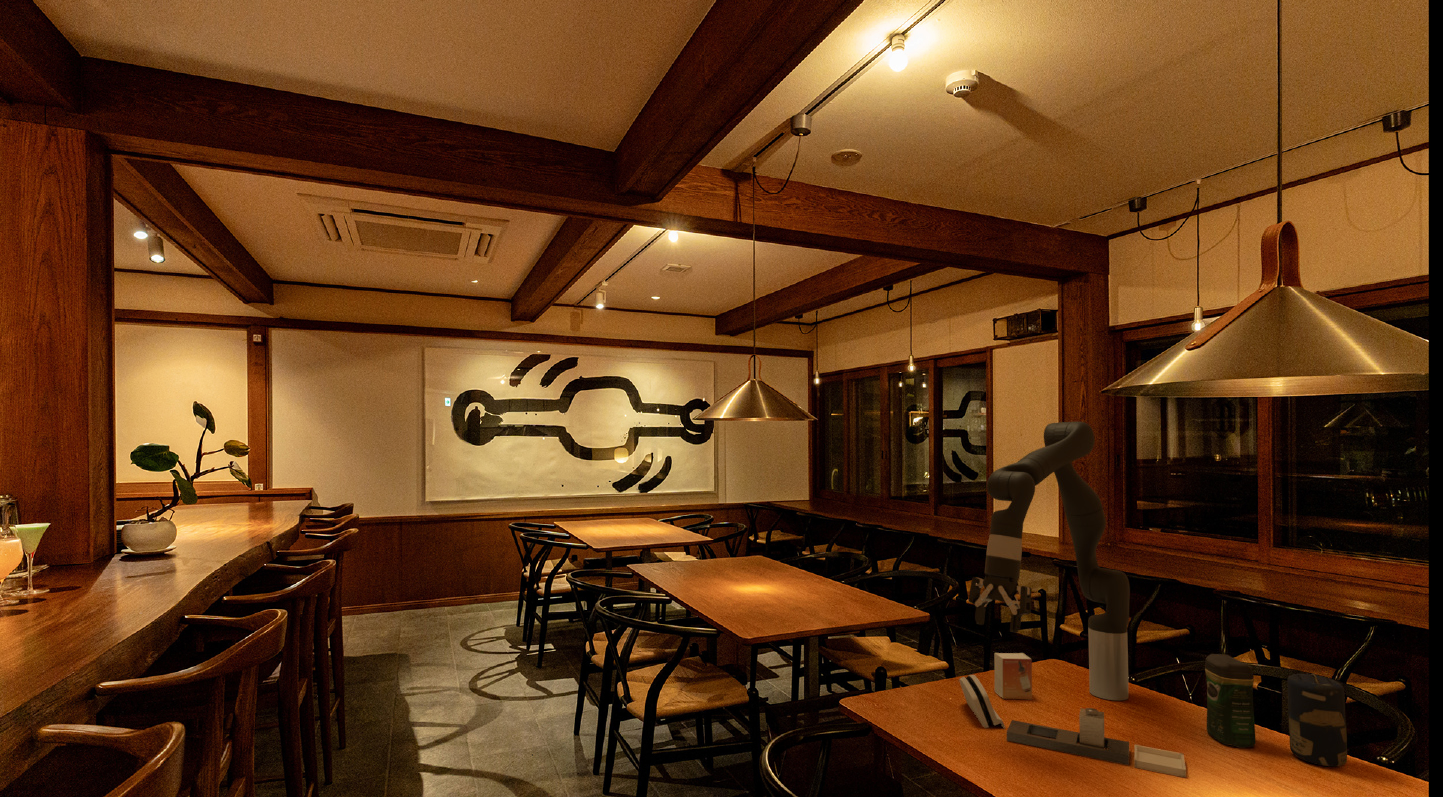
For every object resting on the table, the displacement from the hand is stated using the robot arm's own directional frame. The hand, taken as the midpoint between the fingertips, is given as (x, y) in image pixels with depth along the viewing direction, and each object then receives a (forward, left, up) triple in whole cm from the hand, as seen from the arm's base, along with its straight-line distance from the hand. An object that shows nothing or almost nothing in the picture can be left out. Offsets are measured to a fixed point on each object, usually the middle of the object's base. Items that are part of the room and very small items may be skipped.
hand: (996, 628), depth 165 cm
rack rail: (-4, +14, -25) cm, 29 cm away
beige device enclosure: (-13, -6, -25) cm, 29 cm away
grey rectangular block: (-4, +19, -25) cm, 31 cm away
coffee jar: (-27, +46, -25) cm, 59 cm away
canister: (-24, +61, -25) cm, 70 cm away
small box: (-32, -1, -25) cm, 41 cm away
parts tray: (-4, +31, -25) cm, 40 cm away
